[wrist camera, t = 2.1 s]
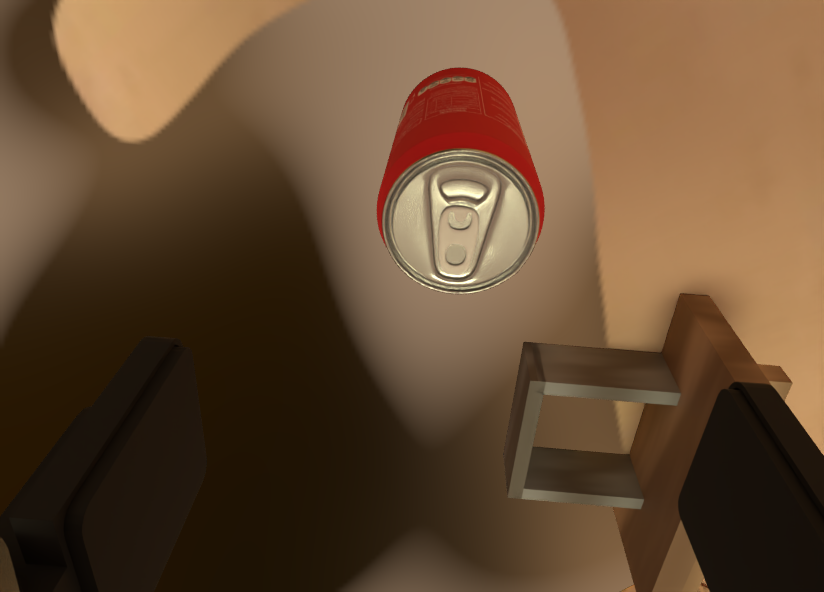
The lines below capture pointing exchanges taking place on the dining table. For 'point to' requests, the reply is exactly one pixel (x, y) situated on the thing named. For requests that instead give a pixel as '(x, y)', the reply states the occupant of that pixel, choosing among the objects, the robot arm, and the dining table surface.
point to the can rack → (655, 438)
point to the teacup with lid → (631, 590)
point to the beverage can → (460, 186)
